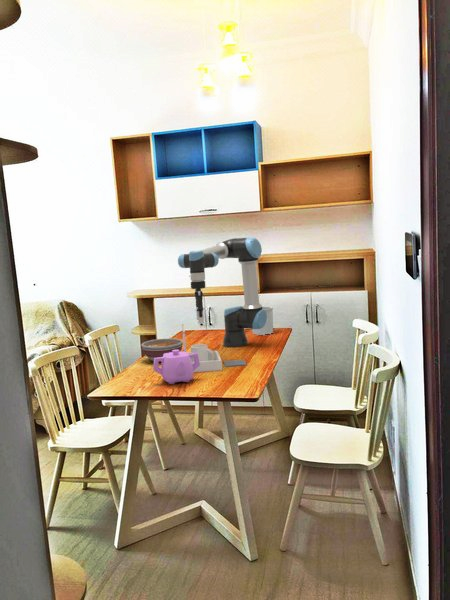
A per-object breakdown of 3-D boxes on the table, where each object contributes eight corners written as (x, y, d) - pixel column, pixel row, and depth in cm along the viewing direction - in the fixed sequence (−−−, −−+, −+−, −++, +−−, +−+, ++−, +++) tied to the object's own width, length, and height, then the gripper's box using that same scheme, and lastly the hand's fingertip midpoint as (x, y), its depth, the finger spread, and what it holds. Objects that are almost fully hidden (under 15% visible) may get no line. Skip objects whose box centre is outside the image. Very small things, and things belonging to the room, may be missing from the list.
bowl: (135, 364, 310) (133, 346, 309) (154, 354, 331) (153, 338, 330) (173, 365, 302) (171, 347, 301) (190, 355, 323) (189, 338, 322)
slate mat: (243, 360, 303) (243, 359, 303) (246, 365, 293) (246, 364, 292) (223, 362, 302) (223, 361, 302) (225, 367, 291) (225, 365, 291)
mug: (211, 368, 291) (210, 347, 290) (189, 367, 295) (188, 347, 293) (216, 364, 299) (215, 344, 298) (195, 363, 303) (194, 344, 301)
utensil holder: (267, 336, 367) (265, 309, 365) (247, 335, 375) (246, 309, 373) (277, 332, 379) (276, 306, 377) (258, 331, 387) (257, 305, 385)
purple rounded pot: (184, 387, 257) (182, 355, 255) (150, 385, 265) (148, 353, 263) (204, 377, 274) (202, 346, 273) (171, 374, 282) (169, 345, 281)
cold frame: (217, 359, 310) (215, 321, 307) (222, 370, 286) (219, 329, 283) (184, 362, 308) (181, 324, 305) (185, 373, 284) (182, 331, 281)
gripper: (189, 279, 303) (191, 318, 306) (191, 283, 279) (194, 325, 281) (203, 278, 304) (205, 317, 306) (206, 282, 279) (209, 324, 282)
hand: (200, 321), depth 294 cm, fingers open, 13 cm apart
